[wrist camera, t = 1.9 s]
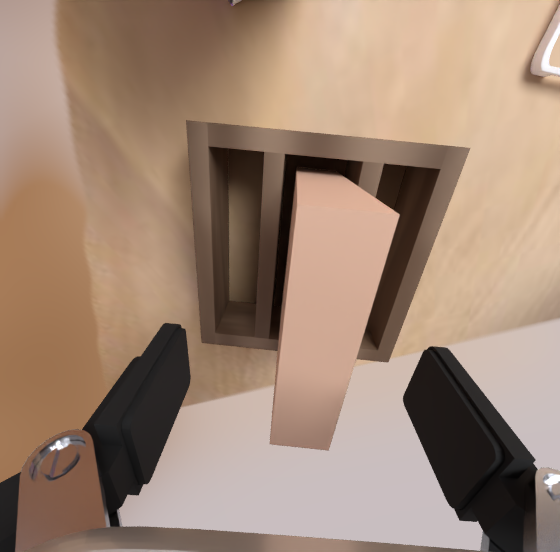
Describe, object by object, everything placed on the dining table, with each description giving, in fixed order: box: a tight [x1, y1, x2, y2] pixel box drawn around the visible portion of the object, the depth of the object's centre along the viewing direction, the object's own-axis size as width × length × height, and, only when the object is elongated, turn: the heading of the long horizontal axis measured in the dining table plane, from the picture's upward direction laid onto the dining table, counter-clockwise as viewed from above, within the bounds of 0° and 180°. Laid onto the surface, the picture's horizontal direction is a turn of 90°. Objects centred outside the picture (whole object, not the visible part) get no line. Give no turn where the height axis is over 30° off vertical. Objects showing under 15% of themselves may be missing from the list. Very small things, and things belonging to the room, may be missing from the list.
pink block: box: [270, 167, 400, 450], centre depth 16 cm, size 3×12×14 cm, turn 175°
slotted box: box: [186, 120, 470, 362], centre depth 20 cm, size 16×16×5 cm
